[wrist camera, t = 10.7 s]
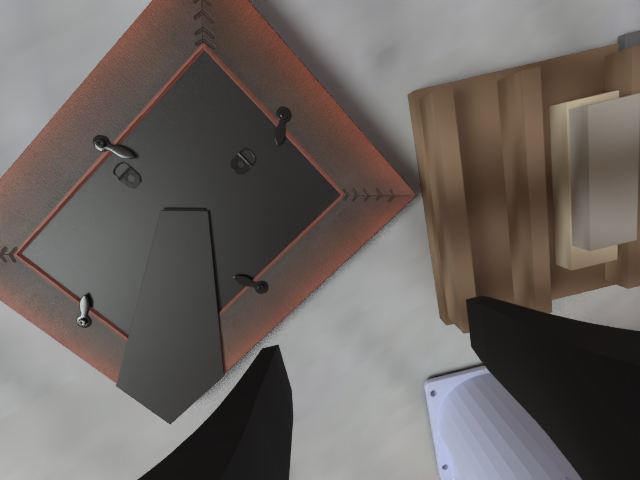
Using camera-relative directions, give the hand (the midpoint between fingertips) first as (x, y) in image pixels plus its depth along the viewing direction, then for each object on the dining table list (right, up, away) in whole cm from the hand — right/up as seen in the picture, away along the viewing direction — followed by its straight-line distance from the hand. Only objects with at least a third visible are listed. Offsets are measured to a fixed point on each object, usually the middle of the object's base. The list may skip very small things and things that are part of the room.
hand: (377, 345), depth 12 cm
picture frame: (-10, +5, +9) cm, 14 cm away
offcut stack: (+14, +7, +8) cm, 18 cm away
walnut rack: (+11, +7, +9) cm, 15 cm away
